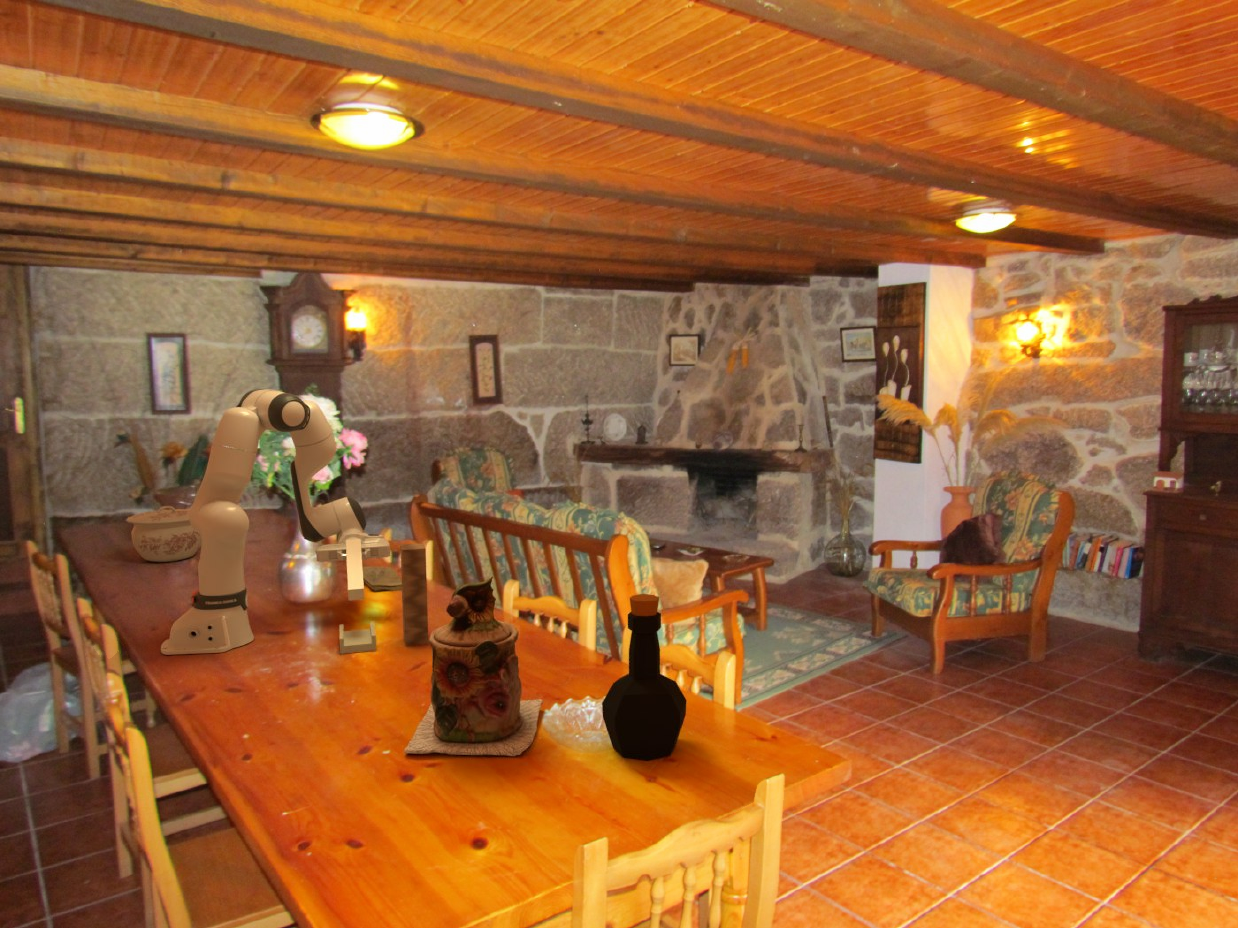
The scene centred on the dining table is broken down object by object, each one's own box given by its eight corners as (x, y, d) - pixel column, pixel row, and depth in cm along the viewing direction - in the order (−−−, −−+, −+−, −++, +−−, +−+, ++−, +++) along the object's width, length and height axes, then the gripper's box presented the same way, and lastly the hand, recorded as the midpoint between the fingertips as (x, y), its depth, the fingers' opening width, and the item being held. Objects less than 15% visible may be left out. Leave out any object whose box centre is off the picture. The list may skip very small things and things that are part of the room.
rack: (340, 653, 223) (339, 638, 223) (340, 638, 236) (339, 624, 235) (376, 650, 226) (375, 635, 226) (374, 635, 238) (373, 621, 238)
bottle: (600, 731, 176) (599, 587, 172) (680, 728, 177) (681, 585, 174) (604, 767, 160) (603, 609, 157) (692, 764, 161) (693, 607, 158)
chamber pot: (111, 565, 323) (107, 510, 321) (161, 550, 350) (158, 499, 347) (179, 568, 318) (175, 512, 316) (225, 552, 345) (222, 500, 343)
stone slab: (389, 562, 314) (407, 578, 287) (389, 574, 314) (407, 590, 287) (354, 565, 309) (368, 581, 282) (354, 577, 309) (369, 594, 282)
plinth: (405, 646, 229) (402, 549, 226) (403, 638, 236) (400, 544, 233) (428, 643, 231) (425, 548, 228) (426, 636, 238) (423, 543, 235)
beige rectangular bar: (348, 600, 231) (348, 589, 229) (346, 550, 246) (345, 539, 244) (364, 599, 233) (363, 588, 230) (360, 549, 248) (360, 538, 245)
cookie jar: (432, 707, 189) (427, 563, 185) (544, 707, 188) (542, 563, 184) (400, 758, 164) (395, 594, 161) (529, 759, 164) (527, 594, 160)
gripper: (315, 539, 251) (314, 548, 238) (388, 534, 257) (390, 543, 244) (316, 560, 252) (315, 571, 238) (388, 555, 258) (391, 565, 245)
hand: (354, 557), depth 241 cm, fingers closed on beige rectangular bar, 4 cm apart
